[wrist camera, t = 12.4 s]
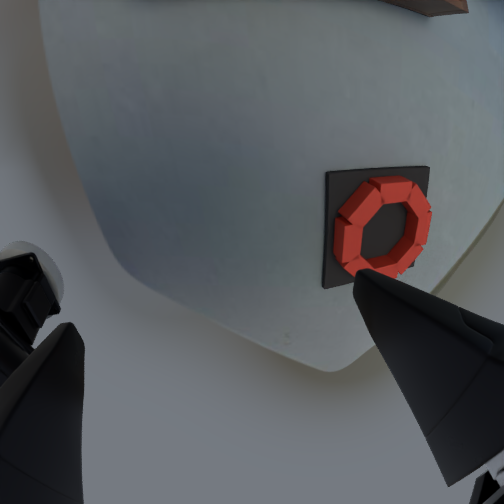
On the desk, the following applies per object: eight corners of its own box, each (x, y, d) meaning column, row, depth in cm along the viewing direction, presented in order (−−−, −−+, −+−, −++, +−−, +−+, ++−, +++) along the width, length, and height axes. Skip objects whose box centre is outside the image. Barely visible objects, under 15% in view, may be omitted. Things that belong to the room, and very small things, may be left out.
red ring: (330, 282, 24) (338, 293, 23) (335, 180, 20) (346, 187, 18) (410, 262, 25) (419, 271, 24) (424, 173, 21) (437, 179, 20)
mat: (321, 286, 25) (324, 289, 24) (325, 171, 20) (329, 173, 19) (410, 264, 26) (413, 266, 26) (426, 165, 21) (430, 167, 21)
